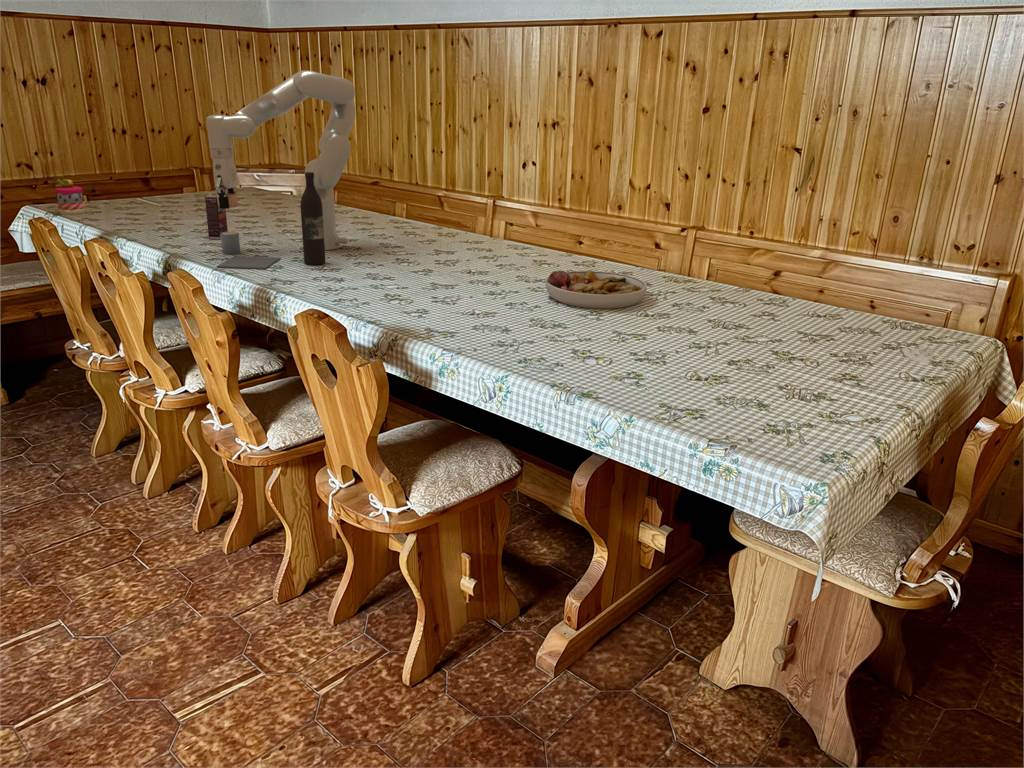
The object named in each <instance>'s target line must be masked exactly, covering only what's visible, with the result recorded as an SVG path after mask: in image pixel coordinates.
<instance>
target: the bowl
mask: <svg viewBox="0 0 1024 768" xmlns="http://www.w3.org/2000/svg"><path fill="white" fill-rule="evenodd" d="M544 281H545V283H544V284H545V285H544V286H545V289H546V292H547V294H548V295H549V296H550V297H551V298H552V299H554V300H555V301H557V302H560V303H562V304H565V305H567V306H572V307H578V308H586V309H595V310H598V309H599V310H608V309H609V310H611V309H612V310H613V309H621V308H626V307H630V306H633V305H635V304H637V303H640V302H641V300H643V299H644V297H645V296H646V293H647V288H648V285H647V283H646V282H645V281H643V280H642V279H639V278H637V277H634V276H630V275H627V274H623V273H616V272H607V271H595V270H592V269H589V270H575V271H565V270H558V271H557V270H555V271H553V272H551V273H550V275H549V276H548V277H546V278H545V280H544Z"/></svg>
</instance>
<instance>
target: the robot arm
mask: <svg viewBox="0 0 1024 768" xmlns="http://www.w3.org/2000/svg"><path fill="white" fill-rule="evenodd" d="M355 96H356V90H355V86H354V84H353V83H352V82H351V81H350V80H349V79H347V78H344V77H340V76H335V75H330V74H327V73H326V74H325V73H320V72H317V71H313V70H299V71H298V72H296V73H294V74H293V75H291V76H290V77H288V78H287V79H286V80H283V82H281V83H280V84H278V85H277V86H275V87H273V88H272V89H270V90H269V91H268V92H266V93H264V94H263V95H261V96H260V97H258V98H257V99H255V100H254V101H252V102H250V103H249V104H247V105H246V106H244V107H243V108H242V109H240V110H239V111H237V112H235V113H234V114H233V115H230V116H228V115H224V114H215V115H214V114H213V115H208V116H207V117H206V128H207V129H206V130H207V136H208V143H209V144H208V146H209V153H210V159H212V172H213V173H212V174H213V181H214V187H215V189H216V194H218V198H219V206H220V209H227V210H228V209H230V208H229V200H228V197H227V193H235V194H237V191H236V188H237V186H238V185H239V177H238V173H237V172H238V171H237V166H236V162H235V159H234V158H235V154H234V152H235V151H234V145H233V144H234V143H233V142H234V141H233V138H239V139H247V138H248V139H249V138H251V137H252V136H253V135H254V133H255V132H256V128H258V127H259V126H260V125H262V124H264V123H266V122H267V121H270V120H272V119H274V118H278V117H281V116H284V114H286V113H288V112H289V111H291V110H292V109H294V108H295V107H296V106H297V105H300V104H301V103H303V102H305V100H307V99H309V98H312V99H316V100H320V101H324V102H329V103H330V114H329V117H328V119H327V123H326V125H325V127H324V129H323V132H322V134H321V136H320V138H319V141H318V149H319V152H320V153H319V155H318V158H315V159H312V160H310V161H309V162H308V163H307V164H306V166H305V170H304V173H305V172H313V173H314V186H315V189H316V191H317V193H318V194H319V196H320V198H321V201H322V208H323V226H324V244H325V251H332V250H338V249H340V248H341V247H342V245H343V244H345V245H347V244H348V243H349V239H348V238H346V237H340V236H339V233H337V225H336V223H337V222H336V207H335V206H336V203H335V192H334V187H335V186H336V185H337V184H338V183H339V180H340V178H341V177H342V174H343V172H344V170H345V167H346V165H347V162H348V160H349V158H350V154H351V151H352V150H351V149H352V145H351V141H350V139H349V136H350V135H351V132H352V128H353V126H354V123H355V119H356V107H355V105H356V104H355V101H354V99H355ZM304 180H305V182H306V178H305V177H304Z"/></svg>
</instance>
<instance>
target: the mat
mask: <svg viewBox="0 0 1024 768" xmlns="http://www.w3.org/2000/svg"><path fill="white" fill-rule="evenodd" d="M280 260H282V258H281V257H271V256H267V257H266V256H244V255H240V256H239V255H234V256H232V257H230V258H228V259H227V260H225V261H223V262H221V263H220V264H217V265H216V269H234V270H235V269H241V270H260V271H261V270H263V271H264V270H267V269H269V268H270V267H272V266H273V265H275V264H276V263H278V262H279V261H280Z"/></svg>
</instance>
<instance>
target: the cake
mask: <svg viewBox="0 0 1024 768" xmlns="http://www.w3.org/2000/svg"><path fill="white" fill-rule="evenodd" d="M56 183H57V184H55V187H56V188H55V189H54V191H55V196H56V198H57V199H56V201H57V208H58V209H59V214H60V215H63V216H77V215H85V214H86V210H85V208H86V203H85V201H84V194H83V188H82V187H80V186H78V185H73V184H74V182H73V180H71V179H66V178H64V179H63V180H60V179H56Z"/></svg>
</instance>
